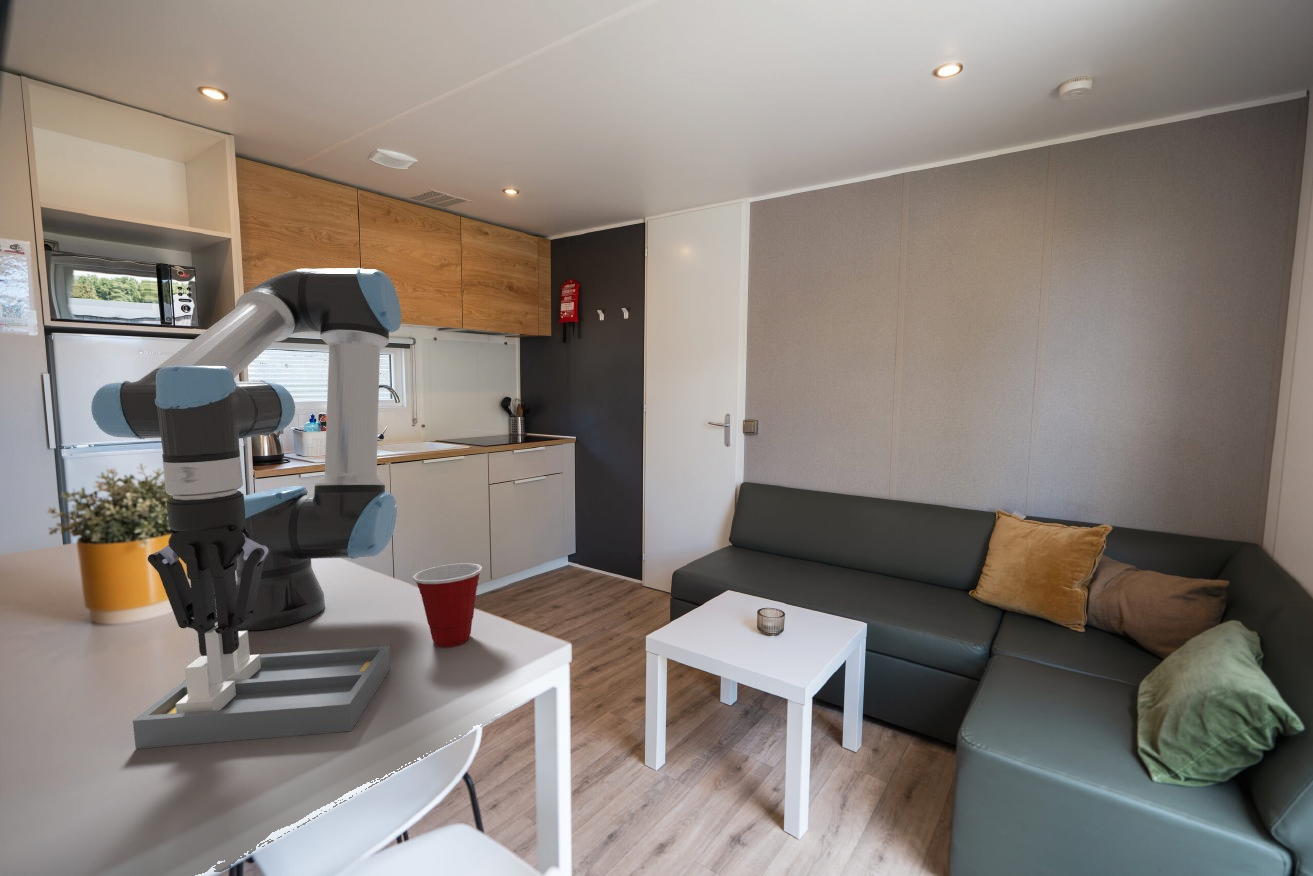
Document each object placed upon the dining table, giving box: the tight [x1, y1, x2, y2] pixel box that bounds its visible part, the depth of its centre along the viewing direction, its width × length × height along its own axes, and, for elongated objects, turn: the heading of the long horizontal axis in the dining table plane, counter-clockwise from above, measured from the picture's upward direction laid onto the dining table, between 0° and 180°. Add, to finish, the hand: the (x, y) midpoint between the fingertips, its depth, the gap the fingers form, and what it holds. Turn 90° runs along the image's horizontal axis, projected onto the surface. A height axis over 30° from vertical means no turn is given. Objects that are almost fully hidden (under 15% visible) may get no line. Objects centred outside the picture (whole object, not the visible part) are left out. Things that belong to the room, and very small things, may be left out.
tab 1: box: [176, 656, 236, 713], centre depth 75 cm, size 5×4×6 cm
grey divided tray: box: [132, 645, 391, 750], centre depth 80 cm, size 16×24×4 cm, turn 98°
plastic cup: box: [412, 562, 483, 648], centre depth 98 cm, size 11×11×12 cm
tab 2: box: [225, 630, 261, 681], centre depth 82 cm, size 5×4×6 cm
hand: (222, 677), depth 75 cm, fingers closed
